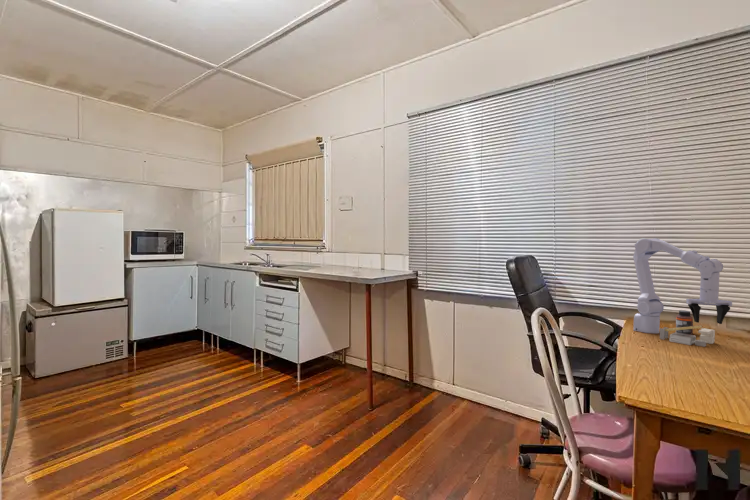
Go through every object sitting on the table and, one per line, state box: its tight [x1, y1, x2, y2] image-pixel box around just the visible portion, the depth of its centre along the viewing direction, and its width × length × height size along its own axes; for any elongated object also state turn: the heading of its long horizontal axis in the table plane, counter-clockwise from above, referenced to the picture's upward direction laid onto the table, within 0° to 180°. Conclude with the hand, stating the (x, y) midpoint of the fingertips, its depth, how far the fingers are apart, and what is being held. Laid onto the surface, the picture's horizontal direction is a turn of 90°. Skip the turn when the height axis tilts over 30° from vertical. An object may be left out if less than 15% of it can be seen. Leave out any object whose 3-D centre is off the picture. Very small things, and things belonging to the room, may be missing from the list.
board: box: [659, 326, 707, 348], centre depth 160 cm, size 16×22×6 cm
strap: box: [665, 324, 703, 332], centre depth 160 cm, size 13×2×1 cm, turn 35°
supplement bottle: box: [675, 309, 694, 335], centre depth 175 cm, size 6×6×11 cm
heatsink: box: [668, 331, 697, 346], centre depth 160 cm, size 7×7×3 cm
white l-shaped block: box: [697, 327, 716, 345], centre depth 158 cm, size 4×7×5 cm, turn 125°
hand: (707, 322), depth 156 cm, fingers open, 7 cm apart
